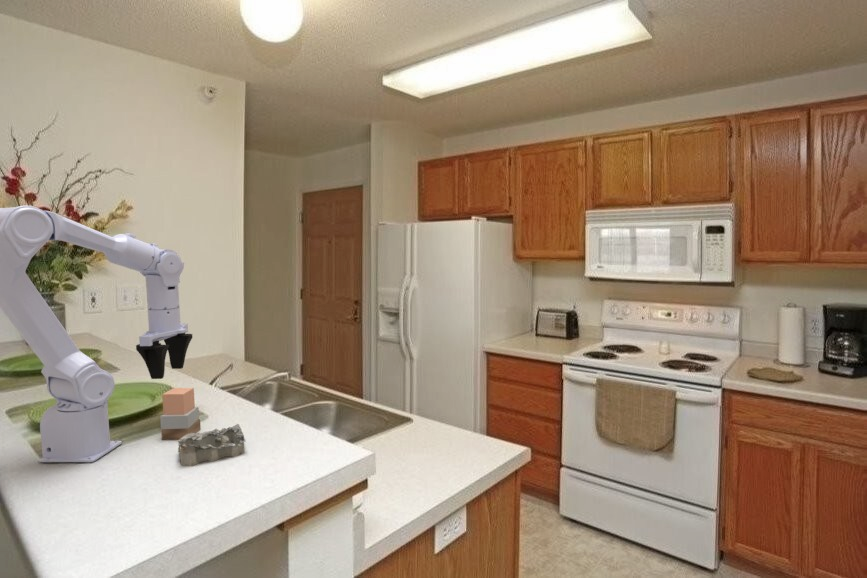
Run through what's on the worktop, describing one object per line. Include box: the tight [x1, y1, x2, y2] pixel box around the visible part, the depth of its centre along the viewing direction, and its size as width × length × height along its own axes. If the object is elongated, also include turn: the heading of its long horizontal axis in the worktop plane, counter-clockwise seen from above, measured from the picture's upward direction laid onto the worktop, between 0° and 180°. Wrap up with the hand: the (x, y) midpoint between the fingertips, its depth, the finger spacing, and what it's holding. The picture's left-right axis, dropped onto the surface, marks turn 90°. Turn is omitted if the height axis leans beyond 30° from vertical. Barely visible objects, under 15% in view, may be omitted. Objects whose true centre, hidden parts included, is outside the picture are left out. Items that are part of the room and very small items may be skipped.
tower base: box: [160, 418, 201, 441], centre depth 95 cm, size 5×5×2 cm
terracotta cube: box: [161, 387, 196, 415], centre depth 95 cm, size 4×4×4 cm
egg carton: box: [177, 423, 247, 467], centre depth 87 cm, size 11×8×4 cm
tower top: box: [159, 406, 200, 430], centre depth 95 cm, size 5×5×2 cm
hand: (167, 373), depth 101 cm, fingers open, 7 cm apart
